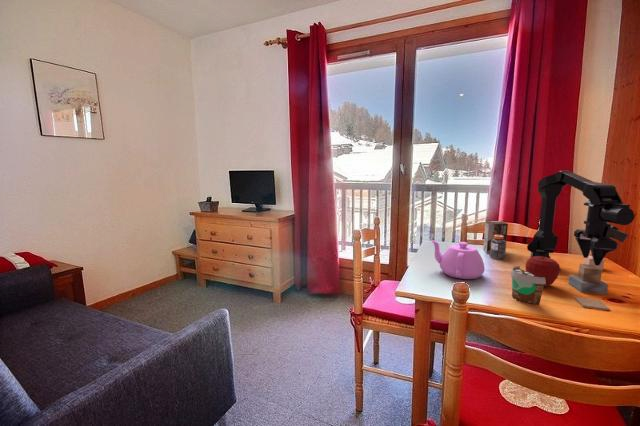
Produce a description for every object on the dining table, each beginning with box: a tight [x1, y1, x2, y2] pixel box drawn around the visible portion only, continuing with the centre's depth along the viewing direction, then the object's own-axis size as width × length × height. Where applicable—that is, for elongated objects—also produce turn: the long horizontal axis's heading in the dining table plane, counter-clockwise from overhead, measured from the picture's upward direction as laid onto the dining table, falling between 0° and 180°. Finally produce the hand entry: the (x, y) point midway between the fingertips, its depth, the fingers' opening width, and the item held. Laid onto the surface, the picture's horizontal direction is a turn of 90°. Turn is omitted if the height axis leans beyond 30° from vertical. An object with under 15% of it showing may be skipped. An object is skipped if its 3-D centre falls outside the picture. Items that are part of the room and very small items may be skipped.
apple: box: [525, 256, 561, 288], centre depth 116 cm, size 11×11×12 cm
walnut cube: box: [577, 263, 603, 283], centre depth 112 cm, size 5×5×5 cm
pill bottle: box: [489, 235, 505, 260], centre depth 149 cm, size 6×6×11 cm
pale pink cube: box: [583, 255, 605, 272], centre depth 134 cm, size 5×5×5 cm
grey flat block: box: [567, 274, 609, 295], centre depth 113 cm, size 8×8×4 cm
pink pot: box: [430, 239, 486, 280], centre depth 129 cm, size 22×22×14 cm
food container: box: [509, 265, 546, 306], centre depth 104 cm, size 12×6×10 cm, turn 5°
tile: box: [573, 296, 611, 311], centre depth 101 cm, size 7×7×1 cm
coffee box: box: [482, 220, 509, 255], centre depth 158 cm, size 9×6×16 cm
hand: (591, 261), depth 111 cm, fingers open, 9 cm apart
